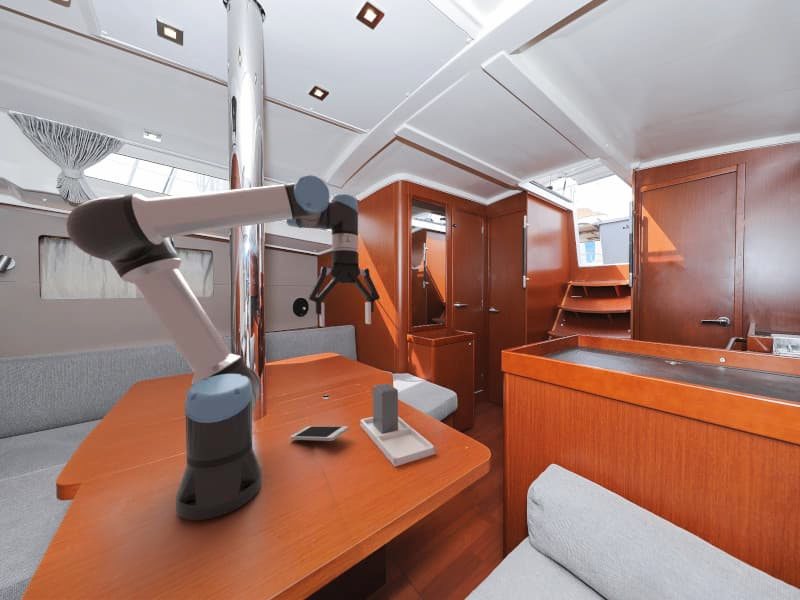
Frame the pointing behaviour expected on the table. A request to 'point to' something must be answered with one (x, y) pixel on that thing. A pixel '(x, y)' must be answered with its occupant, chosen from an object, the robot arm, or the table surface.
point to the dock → (399, 442)
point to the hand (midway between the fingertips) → (345, 325)
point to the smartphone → (320, 433)
